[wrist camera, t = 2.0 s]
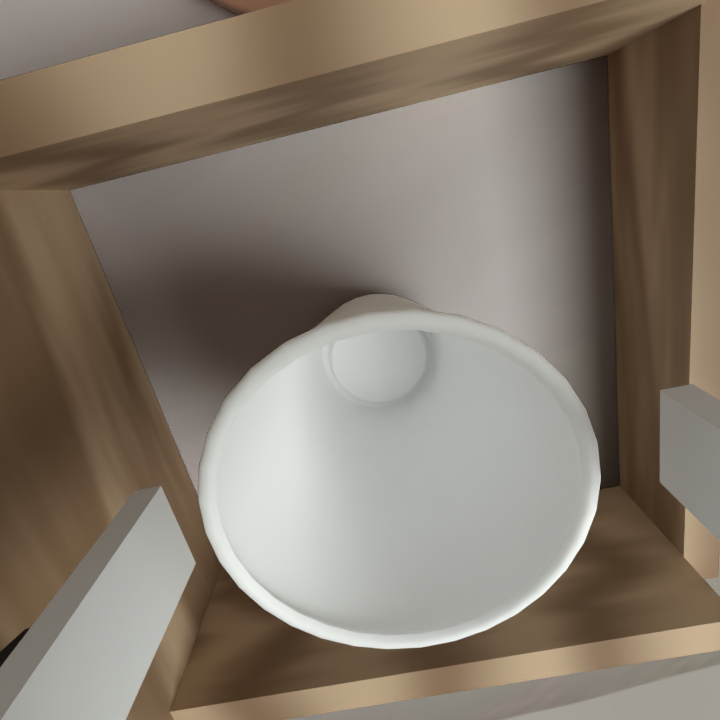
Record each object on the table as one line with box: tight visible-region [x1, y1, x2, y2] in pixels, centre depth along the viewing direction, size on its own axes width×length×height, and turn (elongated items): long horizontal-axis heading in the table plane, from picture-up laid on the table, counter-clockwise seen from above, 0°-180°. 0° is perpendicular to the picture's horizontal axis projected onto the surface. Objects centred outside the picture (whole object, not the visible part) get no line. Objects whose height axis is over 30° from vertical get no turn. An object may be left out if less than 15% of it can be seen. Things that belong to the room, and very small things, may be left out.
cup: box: [198, 294, 601, 649], centre depth 16 cm, size 10×10×11 cm
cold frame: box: [0, 0, 720, 720], centre depth 15 cm, size 25×23×13 cm
